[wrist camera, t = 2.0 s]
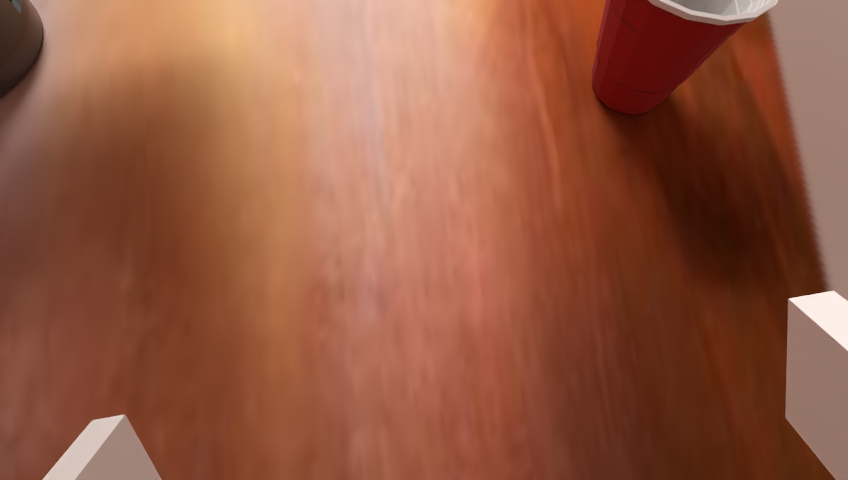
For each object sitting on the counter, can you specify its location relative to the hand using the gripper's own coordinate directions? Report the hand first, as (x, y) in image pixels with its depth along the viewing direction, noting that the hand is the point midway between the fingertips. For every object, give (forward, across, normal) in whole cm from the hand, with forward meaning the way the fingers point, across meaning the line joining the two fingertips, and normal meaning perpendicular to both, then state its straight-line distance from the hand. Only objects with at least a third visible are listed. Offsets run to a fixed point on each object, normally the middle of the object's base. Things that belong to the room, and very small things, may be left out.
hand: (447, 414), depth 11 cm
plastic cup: (+38, +14, -2) cm, 41 cm away
